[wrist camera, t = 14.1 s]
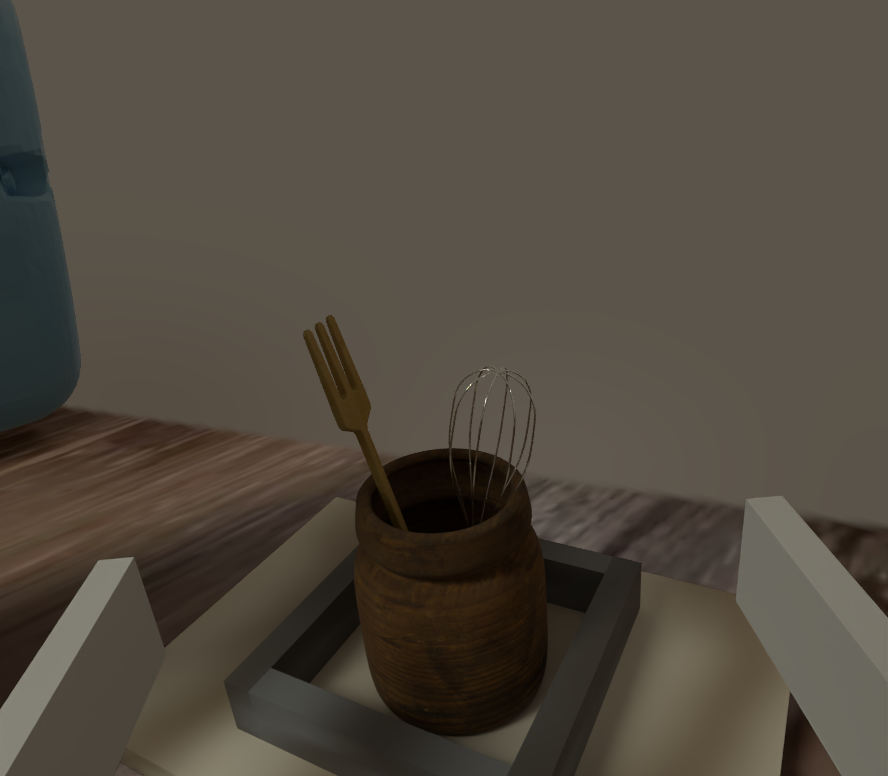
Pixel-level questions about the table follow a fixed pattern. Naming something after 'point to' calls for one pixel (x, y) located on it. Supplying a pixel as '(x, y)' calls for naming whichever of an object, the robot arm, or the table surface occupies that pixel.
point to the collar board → (479, 754)
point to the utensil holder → (443, 568)
